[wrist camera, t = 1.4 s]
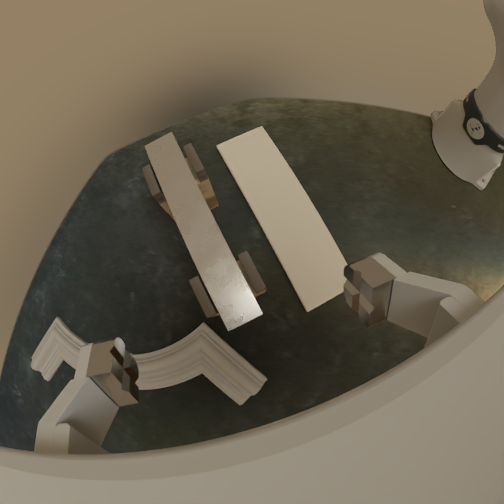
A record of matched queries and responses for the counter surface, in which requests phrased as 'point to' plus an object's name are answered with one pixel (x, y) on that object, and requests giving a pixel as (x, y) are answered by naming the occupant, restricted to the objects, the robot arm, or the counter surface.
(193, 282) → the post near
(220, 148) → the plank
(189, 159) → the post far
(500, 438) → the robot arm
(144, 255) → the counter surface
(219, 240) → the rail
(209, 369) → the molding
